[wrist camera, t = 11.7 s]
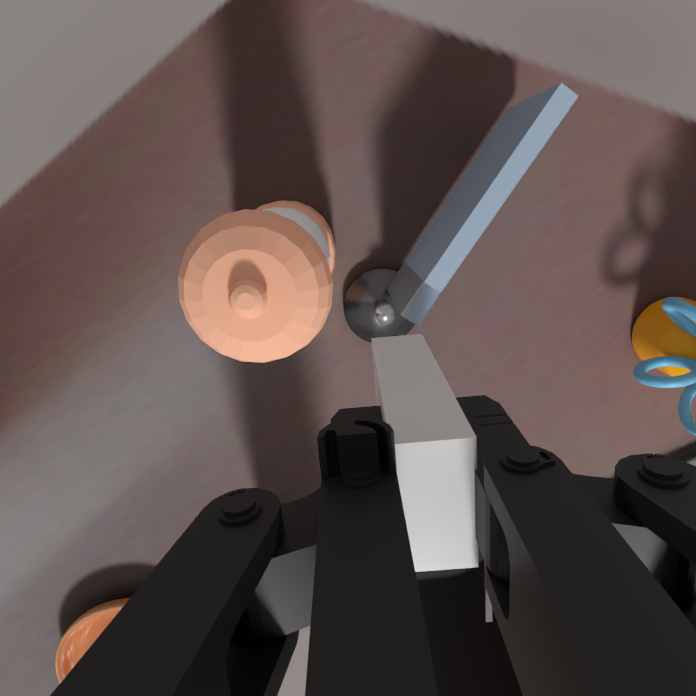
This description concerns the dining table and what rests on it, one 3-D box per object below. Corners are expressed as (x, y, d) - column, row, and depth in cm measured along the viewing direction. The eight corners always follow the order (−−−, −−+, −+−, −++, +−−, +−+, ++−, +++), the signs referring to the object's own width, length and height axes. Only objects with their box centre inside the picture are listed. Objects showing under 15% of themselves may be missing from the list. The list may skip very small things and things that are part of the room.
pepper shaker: (330, 195, 37) (325, 200, 19) (339, 291, 40) (343, 376, 21) (234, 204, 37) (137, 218, 19) (248, 299, 40) (174, 392, 21)
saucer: (36, 646, 50) (18, 674, 47) (140, 553, 47) (127, 576, 44) (159, 728, 54) (150, 758, 51) (263, 647, 51) (259, 674, 48)
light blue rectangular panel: (400, 297, 38) (418, 326, 30) (386, 288, 38) (400, 315, 30) (522, 118, 35) (579, 96, 27) (507, 107, 35) (560, 81, 26)
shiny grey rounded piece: (347, 343, 41) (348, 357, 38) (340, 271, 39) (340, 278, 36) (419, 337, 41) (427, 350, 38) (416, 264, 39) (424, 271, 36)
